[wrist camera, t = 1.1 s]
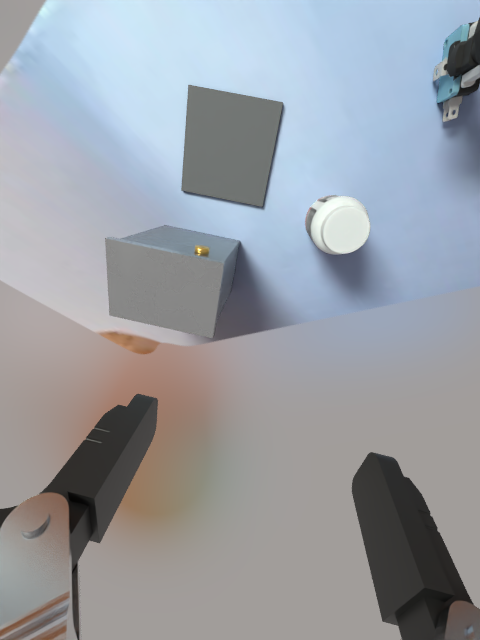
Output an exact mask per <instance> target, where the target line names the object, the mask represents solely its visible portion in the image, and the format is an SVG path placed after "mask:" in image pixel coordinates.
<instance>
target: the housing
mask: <svg viewBox="0 0 480 640" xmlns="http://www.w3.org/2000/svg"><path fill="white" fill-rule="evenodd" d="M105 242H106V260H107V278H108V295H109V313H110V316H115V317H119V318H124V319H128V320H133V321H137V322H141V323H146V324H150V325H155V326H159V327H164V328H168V329H173V330H177V331H182V332H186V333H190V334H195V335H199V336H204V337H208V338H213V337H214V334H215V328H216V322H217V320H218V318H219V315H220V313H221V311H222V309H223V307H224V305H225V303H226V301H227V299H228V297H229V295H230V292H231V289H232V283H233V278H234V272H235V266H236V260H237V254H238V249H239V243H240V241H238V240H234V239H229V238H224V237H219V236H214V235H210V234H205V233H200V232H195V231H190V230H186V229H181V228H176V227H171V226H166V225H164V226H161V227H158V228H154V229H151V230H148V231H145V232H141V233H138V234H135V235H131V236H128V237H125V238H122V239H118V238H114V237H108V238H105Z"/></svg>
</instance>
